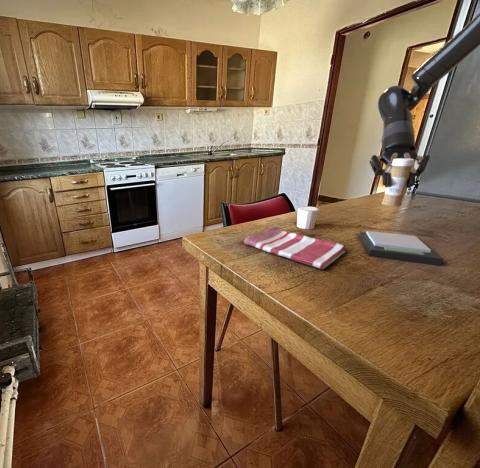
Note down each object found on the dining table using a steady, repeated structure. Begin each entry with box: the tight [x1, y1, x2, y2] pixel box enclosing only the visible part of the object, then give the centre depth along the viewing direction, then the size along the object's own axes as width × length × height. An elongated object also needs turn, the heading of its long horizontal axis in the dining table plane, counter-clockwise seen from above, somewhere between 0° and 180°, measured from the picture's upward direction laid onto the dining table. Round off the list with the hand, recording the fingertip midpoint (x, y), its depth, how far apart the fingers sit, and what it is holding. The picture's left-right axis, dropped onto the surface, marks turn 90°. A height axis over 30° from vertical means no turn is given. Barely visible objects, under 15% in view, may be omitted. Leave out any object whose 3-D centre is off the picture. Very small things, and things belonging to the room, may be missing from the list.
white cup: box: [296, 205, 320, 230], centre depth 94 cm, size 7×7×7 cm
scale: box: [358, 230, 444, 267], centre depth 74 cm, size 15×15×3 cm
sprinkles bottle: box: [381, 158, 415, 207], centre depth 75 cm, size 5×5×14 cm
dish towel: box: [243, 225, 346, 270], centre depth 77 cm, size 17×23×3 cm
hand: (398, 185), depth 73 cm, fingers closed on sprinkles bottle, 4 cm apart
